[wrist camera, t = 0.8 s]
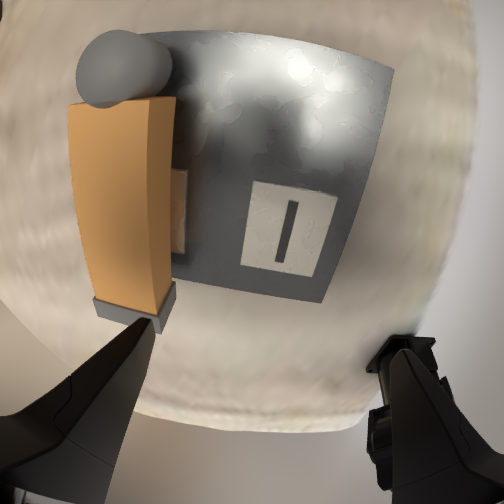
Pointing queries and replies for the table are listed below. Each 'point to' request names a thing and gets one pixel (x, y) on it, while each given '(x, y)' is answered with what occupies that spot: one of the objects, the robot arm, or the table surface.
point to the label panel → (267, 158)
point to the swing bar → (124, 175)
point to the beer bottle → (0, 9)
